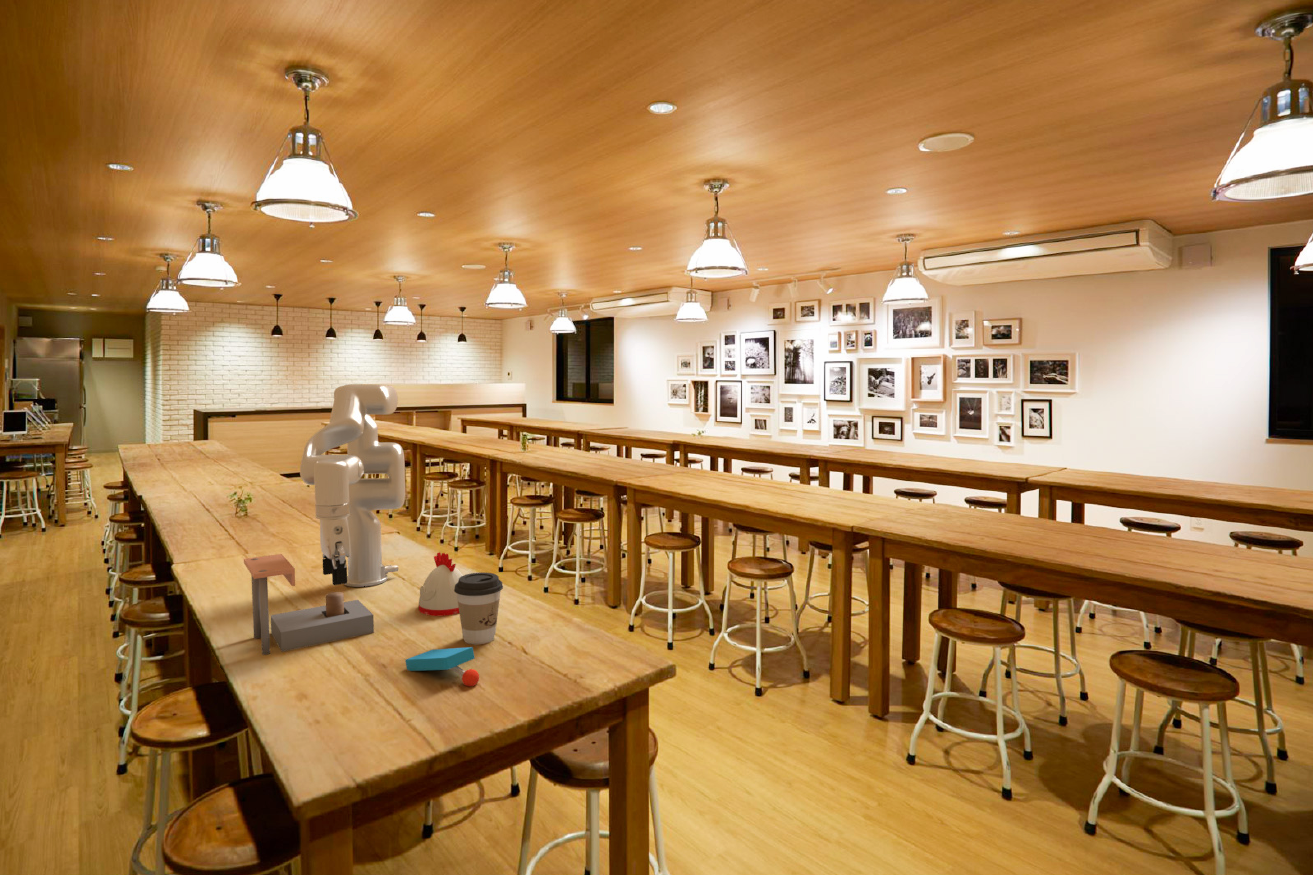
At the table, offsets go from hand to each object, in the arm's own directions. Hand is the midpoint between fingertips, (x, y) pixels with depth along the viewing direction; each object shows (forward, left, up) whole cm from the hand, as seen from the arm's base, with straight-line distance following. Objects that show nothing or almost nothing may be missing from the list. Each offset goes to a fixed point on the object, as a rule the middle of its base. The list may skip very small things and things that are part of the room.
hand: (335, 578), depth 167 cm
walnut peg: (0, 0, -13) cm, 13 cm away
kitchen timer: (-28, 0, -13) cm, 31 cm away
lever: (-12, +41, -13) cm, 45 cm away
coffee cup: (-26, +27, -13) cm, 39 cm away
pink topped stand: (+14, +1, -13) cm, 19 cm away
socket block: (+3, +1, -13) cm, 13 cm away
